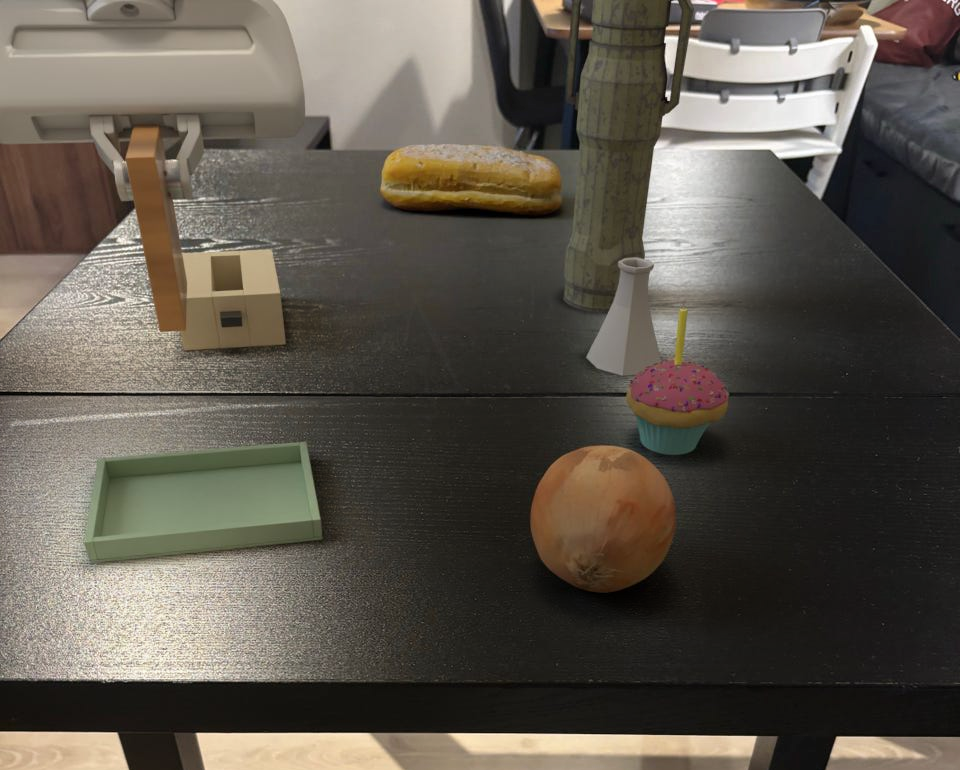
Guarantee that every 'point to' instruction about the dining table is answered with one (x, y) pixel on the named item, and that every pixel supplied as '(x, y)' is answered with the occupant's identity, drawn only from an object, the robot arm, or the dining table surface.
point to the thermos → (617, 137)
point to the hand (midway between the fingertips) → (156, 195)
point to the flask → (627, 324)
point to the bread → (470, 179)
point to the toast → (157, 226)
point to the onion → (602, 518)
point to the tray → (201, 502)
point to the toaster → (232, 301)
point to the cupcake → (676, 400)
